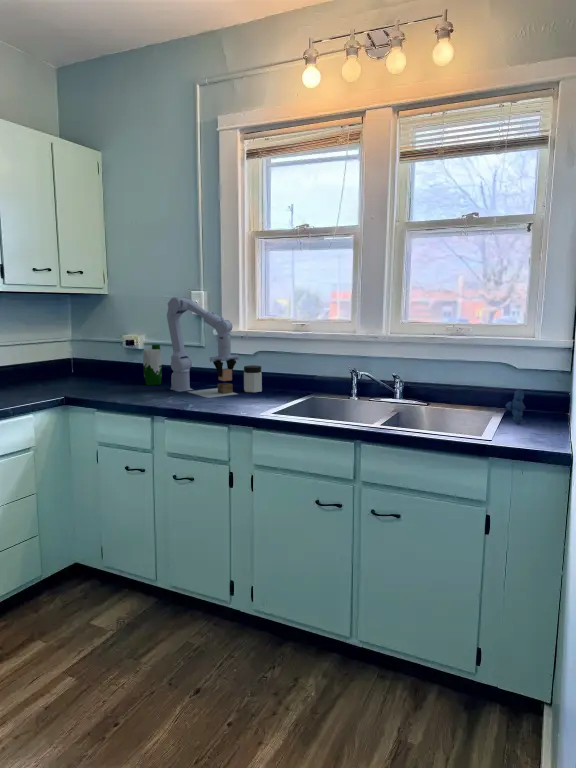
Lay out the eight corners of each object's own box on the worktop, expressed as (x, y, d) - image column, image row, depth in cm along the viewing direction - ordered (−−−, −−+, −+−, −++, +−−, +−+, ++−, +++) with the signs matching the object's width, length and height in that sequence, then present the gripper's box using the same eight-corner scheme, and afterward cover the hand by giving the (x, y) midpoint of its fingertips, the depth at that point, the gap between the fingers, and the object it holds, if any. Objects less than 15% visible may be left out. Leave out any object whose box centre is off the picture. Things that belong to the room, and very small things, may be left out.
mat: (187, 392, 253) (187, 391, 253) (216, 388, 262) (216, 388, 262) (208, 398, 237) (208, 397, 237) (238, 394, 247) (238, 393, 247)
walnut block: (217, 392, 251) (217, 383, 250) (227, 391, 254) (226, 382, 253) (223, 393, 247) (223, 385, 246) (232, 392, 250) (232, 384, 249)
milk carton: (162, 384, 275) (161, 345, 272) (144, 385, 273) (142, 346, 270) (161, 382, 284) (159, 344, 281) (143, 382, 281) (142, 344, 278)
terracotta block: (218, 379, 250) (218, 369, 249) (226, 378, 252) (226, 368, 252) (223, 381, 246) (223, 370, 245) (232, 380, 249) (231, 369, 248)
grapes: (504, 418, 199) (506, 386, 197) (524, 420, 196) (527, 387, 194) (503, 425, 188) (505, 391, 186) (524, 427, 185) (526, 392, 183)
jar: (243, 390, 259) (242, 365, 257) (259, 389, 261) (259, 365, 259) (245, 393, 250) (245, 367, 248) (262, 392, 252) (262, 367, 250)
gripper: (214, 348, 240) (215, 378, 242) (242, 346, 248) (242, 375, 250) (207, 347, 245) (207, 376, 247) (234, 345, 254) (234, 374, 256)
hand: (224, 376), depth 249 cm, fingers closed on terracotta block, 4 cm apart
